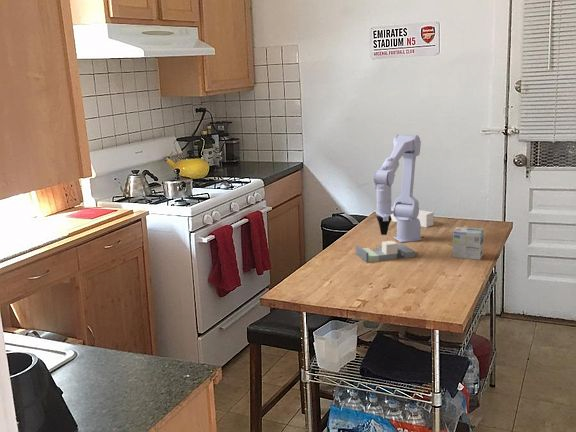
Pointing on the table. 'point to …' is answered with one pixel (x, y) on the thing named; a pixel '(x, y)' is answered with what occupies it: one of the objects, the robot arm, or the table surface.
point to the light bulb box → (468, 243)
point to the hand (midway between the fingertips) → (383, 234)
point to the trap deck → (380, 256)
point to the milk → (421, 218)
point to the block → (389, 247)
